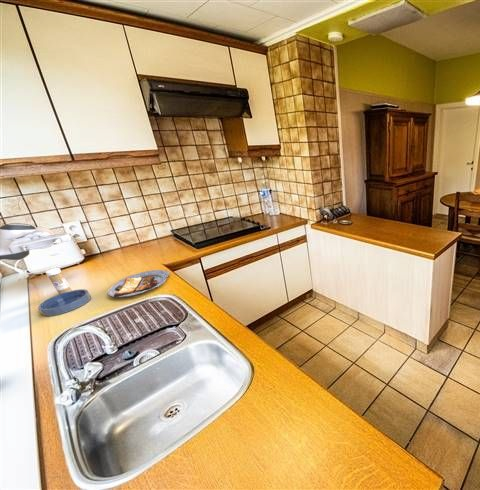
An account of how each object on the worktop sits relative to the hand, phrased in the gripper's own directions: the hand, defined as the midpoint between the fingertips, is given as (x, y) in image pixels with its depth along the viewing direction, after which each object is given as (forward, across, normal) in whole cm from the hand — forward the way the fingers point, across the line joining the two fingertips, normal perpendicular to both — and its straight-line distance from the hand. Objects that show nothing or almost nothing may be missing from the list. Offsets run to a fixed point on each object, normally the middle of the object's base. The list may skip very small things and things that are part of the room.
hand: (41, 245), depth 127 cm
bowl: (+26, 0, -23) cm, 35 cm away
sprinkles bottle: (+11, 0, -23) cm, 26 cm away
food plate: (+33, -26, -23) cm, 48 cm away
